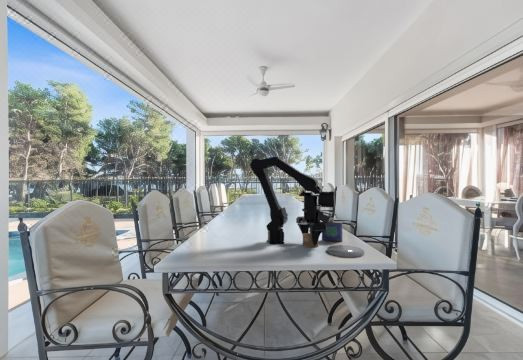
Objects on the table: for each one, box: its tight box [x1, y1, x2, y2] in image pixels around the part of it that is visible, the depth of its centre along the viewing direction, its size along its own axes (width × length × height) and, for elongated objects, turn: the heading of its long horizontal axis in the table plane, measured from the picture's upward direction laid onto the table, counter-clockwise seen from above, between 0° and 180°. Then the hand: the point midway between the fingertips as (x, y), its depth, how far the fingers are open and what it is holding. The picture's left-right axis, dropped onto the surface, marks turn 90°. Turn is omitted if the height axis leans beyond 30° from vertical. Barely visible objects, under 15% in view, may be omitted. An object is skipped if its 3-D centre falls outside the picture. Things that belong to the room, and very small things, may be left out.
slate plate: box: [326, 244, 365, 259], centre depth 112 cm, size 14×14×1 cm
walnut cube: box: [302, 232, 319, 248], centre depth 122 cm, size 5×5×5 cm
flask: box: [321, 217, 343, 243], centre depth 130 cm, size 9×3×11 cm, turn 74°
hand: (310, 242), depth 122 cm, fingers open, 9 cm apart
